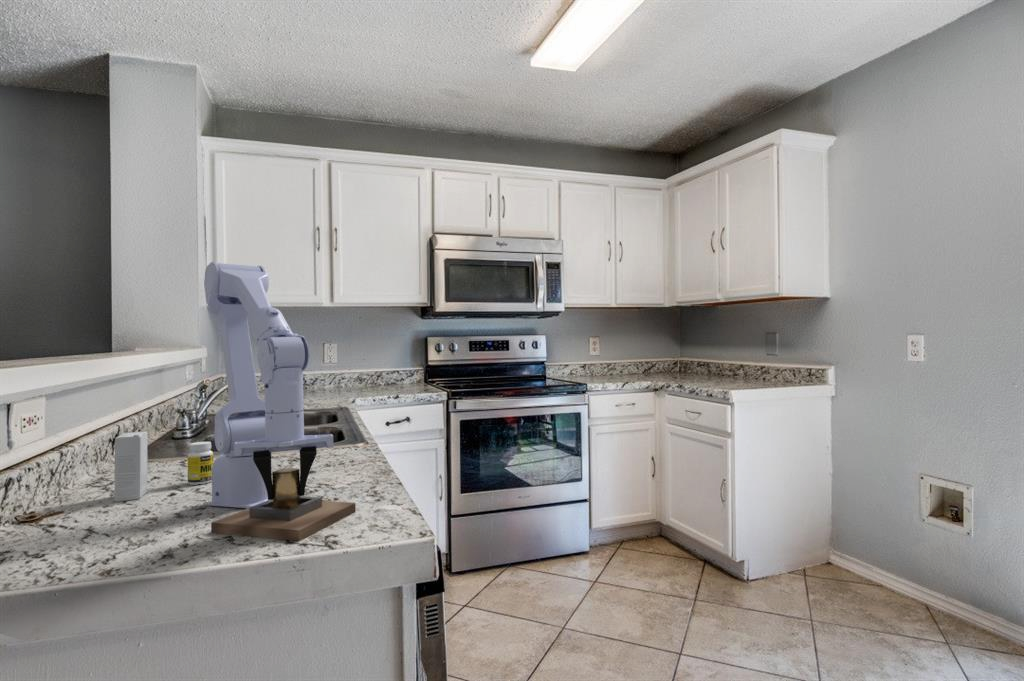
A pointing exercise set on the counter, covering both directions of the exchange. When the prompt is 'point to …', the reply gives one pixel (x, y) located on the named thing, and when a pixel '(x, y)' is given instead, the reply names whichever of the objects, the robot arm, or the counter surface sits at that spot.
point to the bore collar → (282, 514)
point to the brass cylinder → (286, 488)
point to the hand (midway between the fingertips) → (286, 496)
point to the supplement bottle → (200, 463)
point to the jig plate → (284, 522)
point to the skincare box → (130, 466)
